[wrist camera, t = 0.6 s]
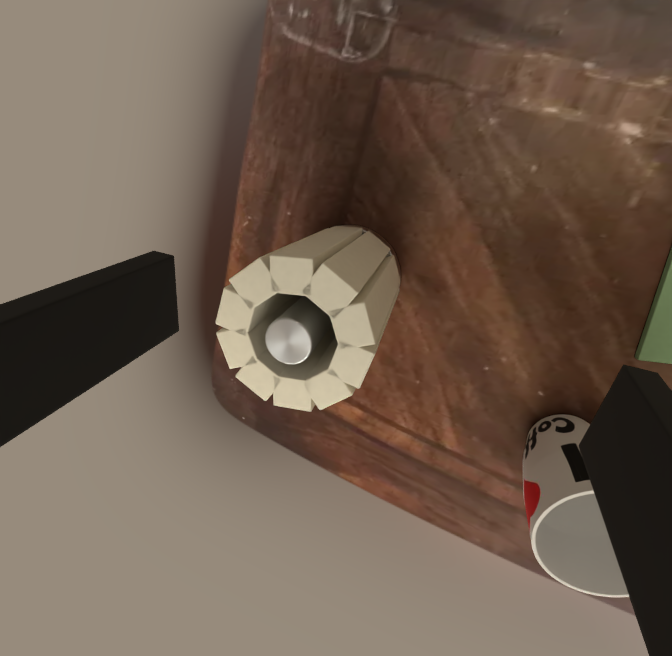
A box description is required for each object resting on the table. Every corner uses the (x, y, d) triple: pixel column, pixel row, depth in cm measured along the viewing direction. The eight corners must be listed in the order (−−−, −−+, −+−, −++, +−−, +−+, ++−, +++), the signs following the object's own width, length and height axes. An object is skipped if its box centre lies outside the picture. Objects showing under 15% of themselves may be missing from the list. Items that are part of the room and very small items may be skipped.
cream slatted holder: (294, 223, 30) (208, 249, 19) (405, 230, 28) (381, 263, 17) (295, 323, 32) (221, 396, 22) (395, 335, 31) (369, 422, 20)
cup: (558, 378, 30) (607, 464, 21) (645, 439, 30) (732, 551, 21) (486, 443, 34) (502, 542, 25) (564, 498, 34) (609, 617, 25)
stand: (302, 221, 31) (205, 251, 18) (405, 227, 29) (377, 266, 16) (302, 317, 34) (218, 401, 21) (396, 328, 32) (365, 427, 19)
